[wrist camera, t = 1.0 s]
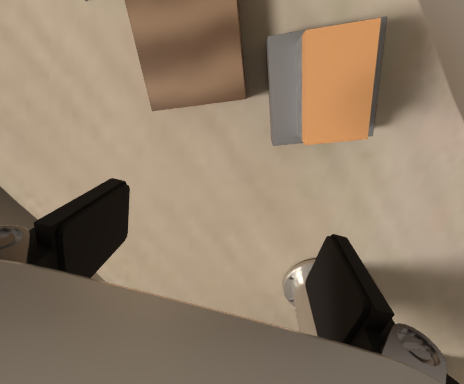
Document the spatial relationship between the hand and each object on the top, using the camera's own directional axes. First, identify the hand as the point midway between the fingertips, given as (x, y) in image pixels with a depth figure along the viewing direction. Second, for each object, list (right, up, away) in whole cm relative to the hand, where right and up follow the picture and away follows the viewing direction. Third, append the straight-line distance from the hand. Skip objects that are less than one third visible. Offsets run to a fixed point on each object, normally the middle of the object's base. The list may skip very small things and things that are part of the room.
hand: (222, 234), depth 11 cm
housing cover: (+11, +12, +12) cm, 21 cm away
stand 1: (-4, +20, +19) cm, 28 cm away
